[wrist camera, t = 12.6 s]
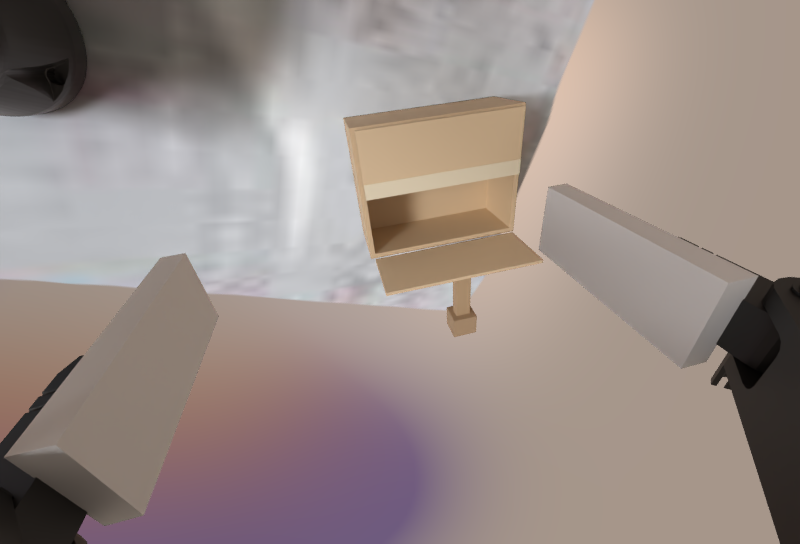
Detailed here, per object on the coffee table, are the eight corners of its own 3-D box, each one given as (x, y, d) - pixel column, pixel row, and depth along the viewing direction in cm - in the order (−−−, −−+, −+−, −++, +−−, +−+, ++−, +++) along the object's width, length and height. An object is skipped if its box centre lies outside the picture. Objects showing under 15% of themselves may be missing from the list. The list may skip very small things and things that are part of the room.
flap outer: (375, 259, 43) (384, 314, 48) (386, 293, 37) (395, 352, 42) (512, 232, 45) (506, 288, 50) (543, 259, 39) (532, 319, 44)
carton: (363, 232, 50) (372, 262, 42) (343, 117, 41) (349, 130, 34) (488, 209, 52) (516, 233, 45) (493, 96, 44) (530, 103, 36)
